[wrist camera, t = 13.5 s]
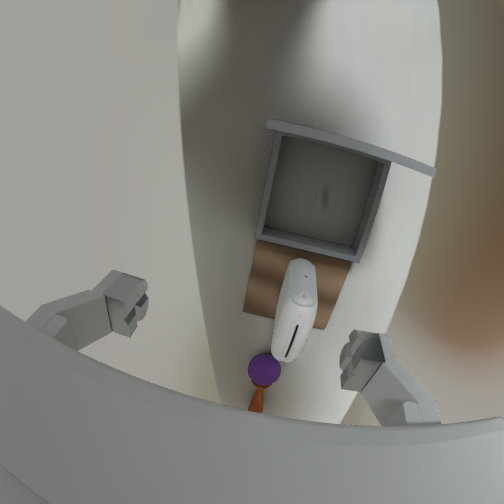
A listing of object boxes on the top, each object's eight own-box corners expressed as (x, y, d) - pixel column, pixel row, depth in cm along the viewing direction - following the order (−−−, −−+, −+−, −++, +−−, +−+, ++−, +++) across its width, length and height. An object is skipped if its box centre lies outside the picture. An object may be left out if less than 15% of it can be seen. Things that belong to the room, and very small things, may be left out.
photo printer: (289, 253, 40) (284, 304, 29) (318, 260, 40) (323, 312, 29) (274, 310, 45) (264, 366, 34) (299, 315, 45) (297, 373, 34)
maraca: (238, 416, 56) (244, 366, 45) (247, 396, 60) (256, 343, 50) (263, 424, 54) (277, 377, 44) (271, 404, 59) (287, 353, 49)
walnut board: (258, 238, 41) (257, 240, 40) (350, 260, 40) (351, 262, 39) (243, 309, 47) (242, 311, 46) (324, 327, 46) (324, 329, 45)
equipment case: (279, 122, 33) (267, 118, 20) (386, 151, 33) (436, 168, 19) (257, 230, 40) (235, 286, 27) (355, 253, 39) (378, 317, 26)
